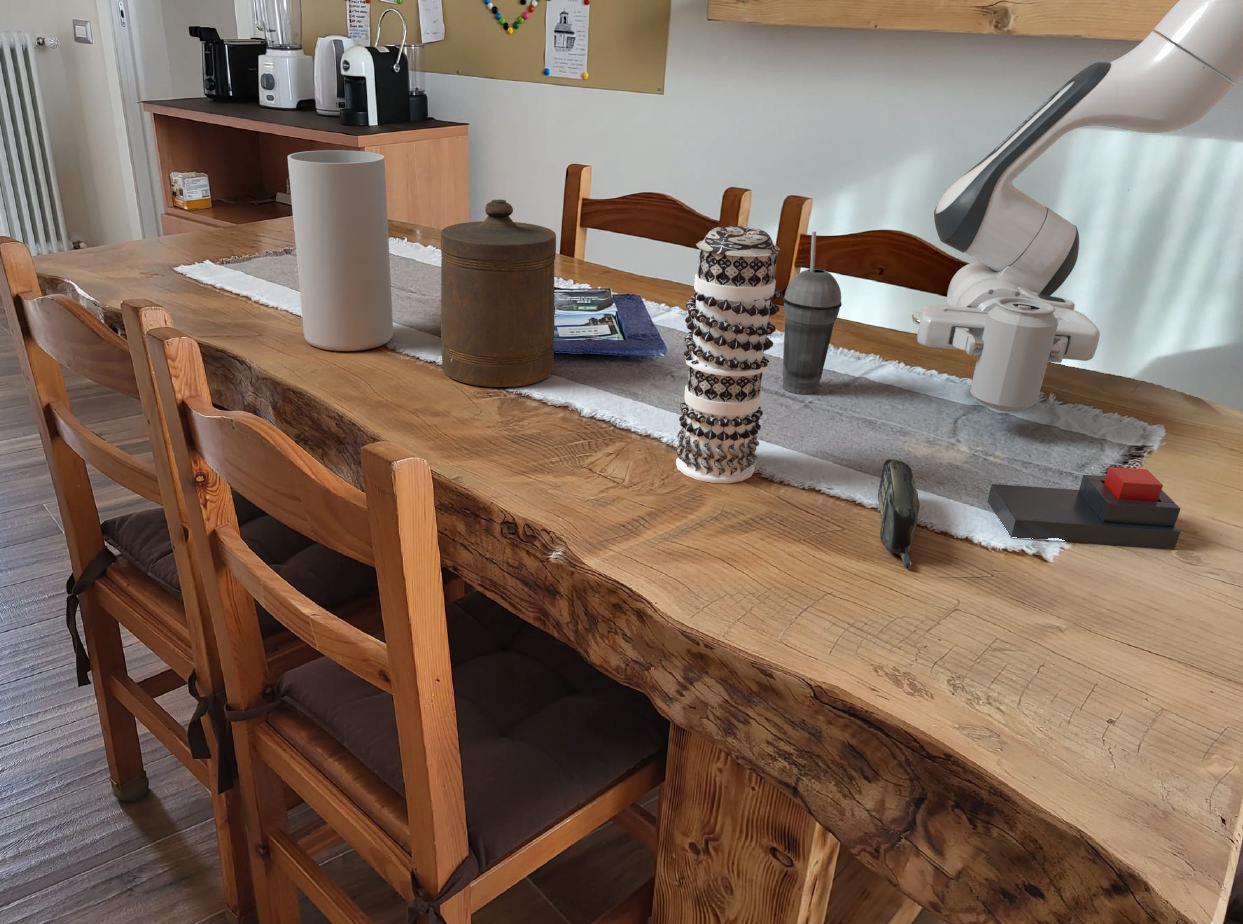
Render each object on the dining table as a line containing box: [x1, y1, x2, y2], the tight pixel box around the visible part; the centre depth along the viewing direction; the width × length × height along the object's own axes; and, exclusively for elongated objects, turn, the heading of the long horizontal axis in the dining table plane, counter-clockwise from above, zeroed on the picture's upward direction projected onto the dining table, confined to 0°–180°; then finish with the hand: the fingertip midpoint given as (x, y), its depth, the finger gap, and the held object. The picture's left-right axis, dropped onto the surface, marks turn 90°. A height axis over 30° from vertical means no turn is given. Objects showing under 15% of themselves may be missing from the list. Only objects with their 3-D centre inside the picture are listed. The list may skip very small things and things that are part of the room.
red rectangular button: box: [1104, 466, 1164, 502], centre depth 95 cm, size 4×4×2 cm
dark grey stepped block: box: [987, 474, 1181, 551], centre depth 96 cm, size 15×8×4 cm, turn 85°
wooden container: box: [440, 199, 557, 388], centre depth 128 cm, size 15×15×22 cm
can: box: [969, 297, 1058, 413], centre depth 114 cm, size 8×8×12 cm
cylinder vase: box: [286, 149, 394, 352], centre depth 137 cm, size 12×12×25 cm
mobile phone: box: [877, 458, 920, 569], centre depth 93 cm, size 5×3×15 cm
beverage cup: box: [782, 231, 843, 395], centre depth 126 cm, size 7×7×20 cm
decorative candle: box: [675, 225, 783, 484], centre depth 101 cm, size 9×9×25 cm
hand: (1016, 352), depth 113 cm, fingers closed on can, 7 cm apart
